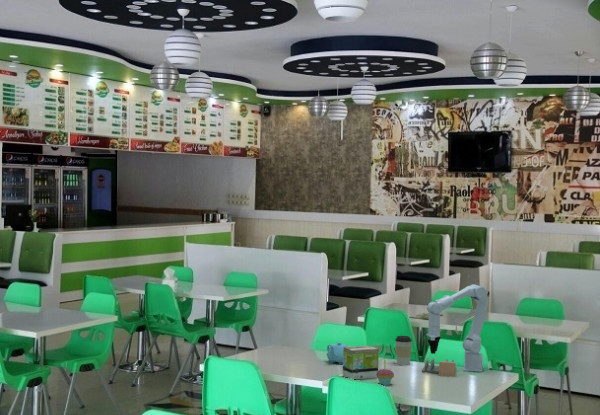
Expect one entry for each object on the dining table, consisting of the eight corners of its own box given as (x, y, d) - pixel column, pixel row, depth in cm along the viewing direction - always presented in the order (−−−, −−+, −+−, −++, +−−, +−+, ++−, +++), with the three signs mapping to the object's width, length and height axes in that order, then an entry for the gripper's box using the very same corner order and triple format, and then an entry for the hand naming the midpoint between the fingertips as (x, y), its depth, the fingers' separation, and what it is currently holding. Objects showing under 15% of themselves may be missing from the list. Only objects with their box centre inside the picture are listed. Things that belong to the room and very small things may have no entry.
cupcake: (374, 382, 374) (375, 357, 374) (392, 382, 374) (392, 357, 374) (377, 386, 365) (378, 360, 365) (395, 386, 366) (396, 360, 366)
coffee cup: (411, 362, 422) (411, 334, 422) (412, 365, 413) (412, 337, 413) (394, 361, 422) (394, 334, 422) (394, 365, 413) (395, 337, 413)
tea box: (352, 380, 376) (353, 350, 376) (342, 376, 385) (342, 346, 385) (378, 378, 383) (379, 348, 383) (367, 373, 392) (368, 344, 392)
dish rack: (455, 368, 406) (455, 359, 406) (453, 374, 393) (454, 364, 393) (424, 366, 411) (425, 357, 411) (422, 372, 397) (422, 362, 397)
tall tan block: (455, 376, 389) (455, 362, 389) (455, 376, 387) (455, 362, 387) (439, 375, 391) (439, 361, 391) (439, 375, 390) (439, 361, 390)
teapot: (348, 361, 426) (348, 340, 427) (353, 365, 412) (353, 343, 413) (325, 361, 424) (325, 340, 425) (330, 365, 410) (330, 344, 411)
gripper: (428, 323, 407) (427, 349, 407) (424, 327, 393) (424, 354, 393) (441, 323, 405) (441, 350, 405) (438, 328, 391) (438, 355, 391)
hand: (434, 352), depth 399 cm, fingers open, 7 cm apart
